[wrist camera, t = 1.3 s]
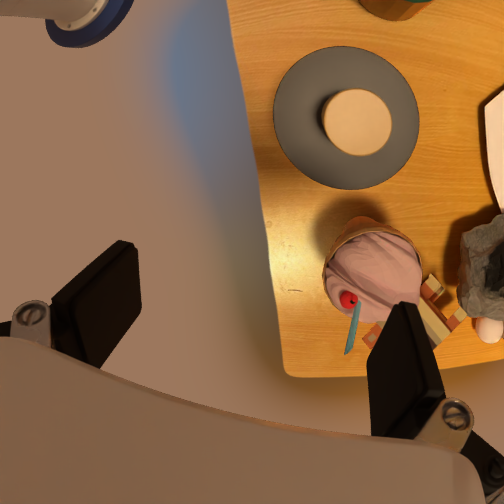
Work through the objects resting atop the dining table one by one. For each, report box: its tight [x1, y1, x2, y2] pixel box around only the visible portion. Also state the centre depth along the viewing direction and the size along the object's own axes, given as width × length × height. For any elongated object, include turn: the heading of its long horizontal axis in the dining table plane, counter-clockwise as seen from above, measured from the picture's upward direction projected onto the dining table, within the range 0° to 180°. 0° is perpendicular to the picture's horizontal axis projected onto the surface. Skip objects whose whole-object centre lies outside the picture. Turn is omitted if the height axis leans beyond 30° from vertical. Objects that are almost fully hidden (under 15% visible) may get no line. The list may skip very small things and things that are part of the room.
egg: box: [476, 317, 504, 344], centre depth 41 cm, size 5×5×7 cm
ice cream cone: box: [322, 216, 423, 355], centre depth 33 cm, size 11×11×20 cm
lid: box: [273, 46, 419, 190], centre depth 17 cm, size 10×10×6 cm
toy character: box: [362, 274, 467, 350], centre depth 38 cm, size 9×18×12 cm
